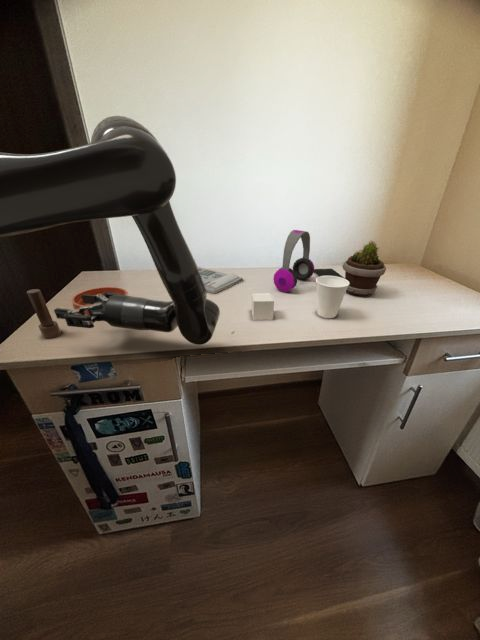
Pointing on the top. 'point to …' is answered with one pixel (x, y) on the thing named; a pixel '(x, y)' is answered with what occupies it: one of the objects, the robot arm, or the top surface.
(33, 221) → the robot arm
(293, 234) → the headphones
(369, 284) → the flowerpot
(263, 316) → the white cube
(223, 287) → the office telephone
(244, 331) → the top surface
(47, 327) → the muddler
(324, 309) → the cup
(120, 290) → the bowl
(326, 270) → the cell phone
